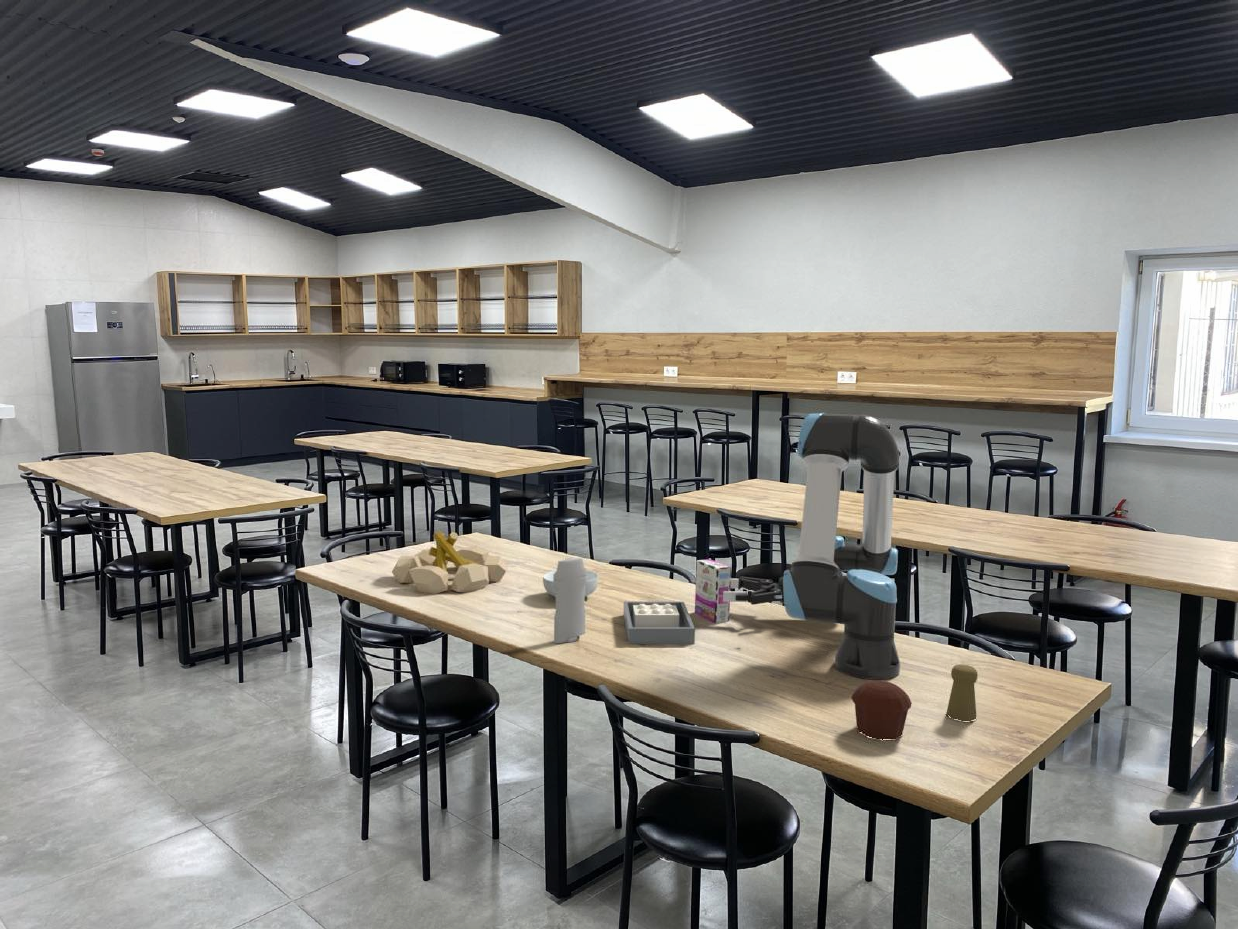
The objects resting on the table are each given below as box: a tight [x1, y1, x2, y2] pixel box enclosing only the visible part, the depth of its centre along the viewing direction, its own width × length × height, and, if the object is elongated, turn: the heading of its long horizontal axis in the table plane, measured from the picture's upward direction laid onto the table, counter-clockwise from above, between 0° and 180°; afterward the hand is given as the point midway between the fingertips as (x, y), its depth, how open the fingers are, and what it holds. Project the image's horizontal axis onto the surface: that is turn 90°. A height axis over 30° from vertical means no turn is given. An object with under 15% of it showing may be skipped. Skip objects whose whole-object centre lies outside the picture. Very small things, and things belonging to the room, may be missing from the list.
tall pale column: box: [553, 556, 588, 645], centre depth 230 cm, size 11×4×22 cm, turn 129°
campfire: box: [391, 530, 508, 595], centre depth 287 cm, size 35×34×17 cm
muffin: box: [850, 680, 913, 740], centre depth 178 cm, size 12×11×10 cm
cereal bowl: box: [542, 569, 600, 598], centre depth 269 cm, size 17×17×7 cm
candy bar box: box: [694, 558, 732, 624], centre depth 249 cm, size 11×5×16 cm, turn 27°
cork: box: [946, 664, 979, 721], centre depth 186 cm, size 6×6×11 cm
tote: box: [622, 600, 696, 645], centre depth 238 cm, size 24×17×5 cm
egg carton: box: [633, 604, 679, 627], centre depth 243 cm, size 9×12×5 cm
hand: (719, 589), depth 250 cm, fingers open, 13 cm apart
